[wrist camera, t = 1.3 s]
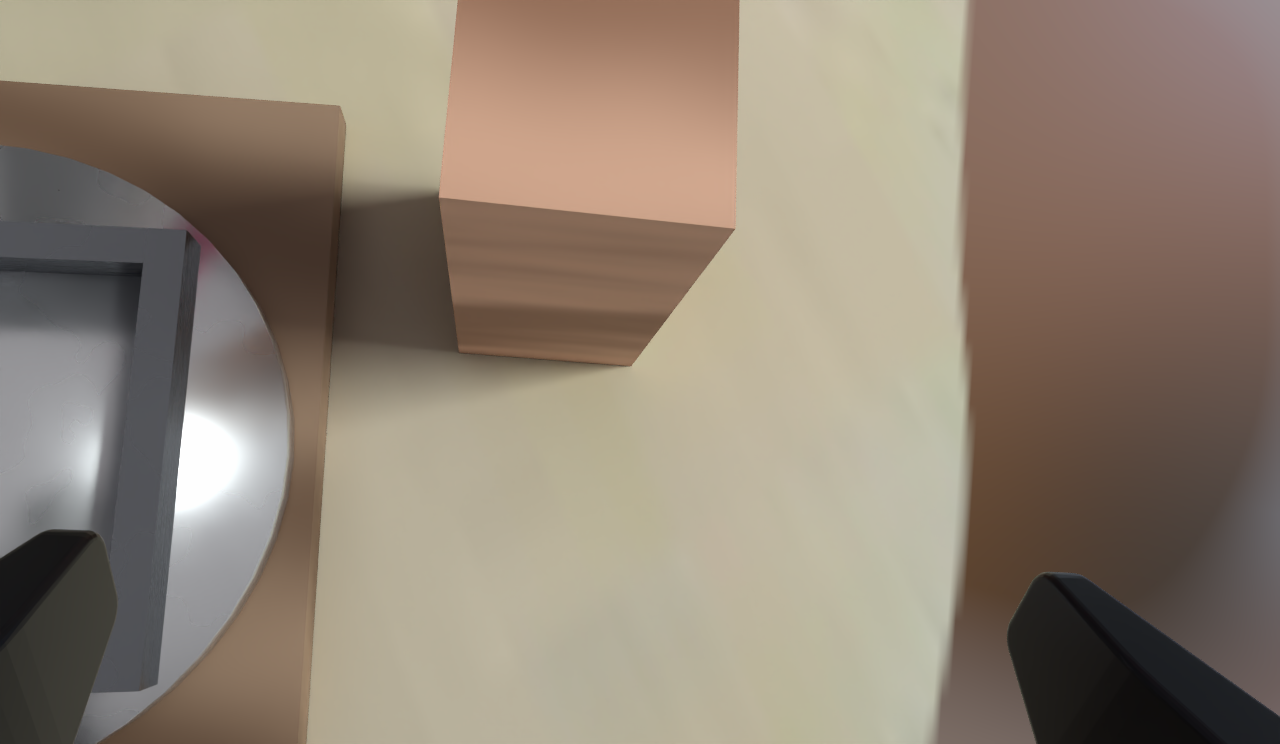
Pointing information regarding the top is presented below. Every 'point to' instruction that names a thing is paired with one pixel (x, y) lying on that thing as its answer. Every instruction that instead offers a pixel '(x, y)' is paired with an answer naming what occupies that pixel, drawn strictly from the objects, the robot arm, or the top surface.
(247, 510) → the rosette plate
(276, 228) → the walnut board
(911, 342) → the top surface
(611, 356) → the tan wooden block
